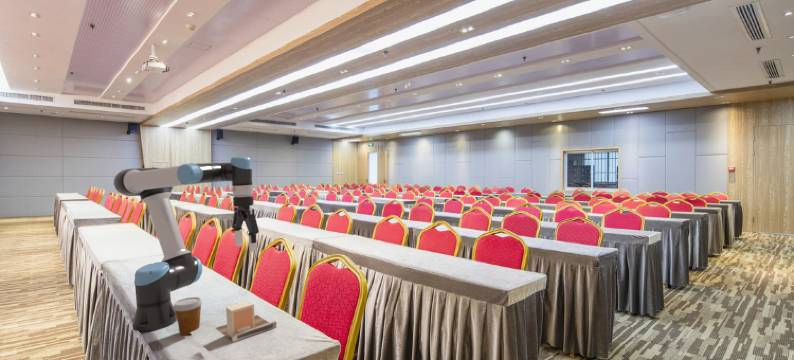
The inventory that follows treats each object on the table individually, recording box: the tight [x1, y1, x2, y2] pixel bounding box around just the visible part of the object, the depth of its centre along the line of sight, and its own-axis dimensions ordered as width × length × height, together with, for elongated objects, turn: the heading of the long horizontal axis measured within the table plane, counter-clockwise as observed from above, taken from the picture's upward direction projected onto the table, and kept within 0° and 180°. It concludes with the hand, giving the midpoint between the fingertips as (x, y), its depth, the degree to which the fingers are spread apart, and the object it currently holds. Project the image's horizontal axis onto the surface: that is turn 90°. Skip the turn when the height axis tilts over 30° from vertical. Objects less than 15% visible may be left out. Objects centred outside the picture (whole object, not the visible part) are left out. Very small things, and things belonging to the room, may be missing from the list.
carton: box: [225, 300, 255, 338], centre depth 141 cm, size 8×5×10 cm, turn 134°
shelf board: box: [215, 314, 278, 343], centre depth 145 cm, size 17×16×4 cm
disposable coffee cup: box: [173, 296, 203, 337], centre depth 146 cm, size 10×10×12 cm
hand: (246, 248), depth 156 cm, fingers open, 13 cm apart
